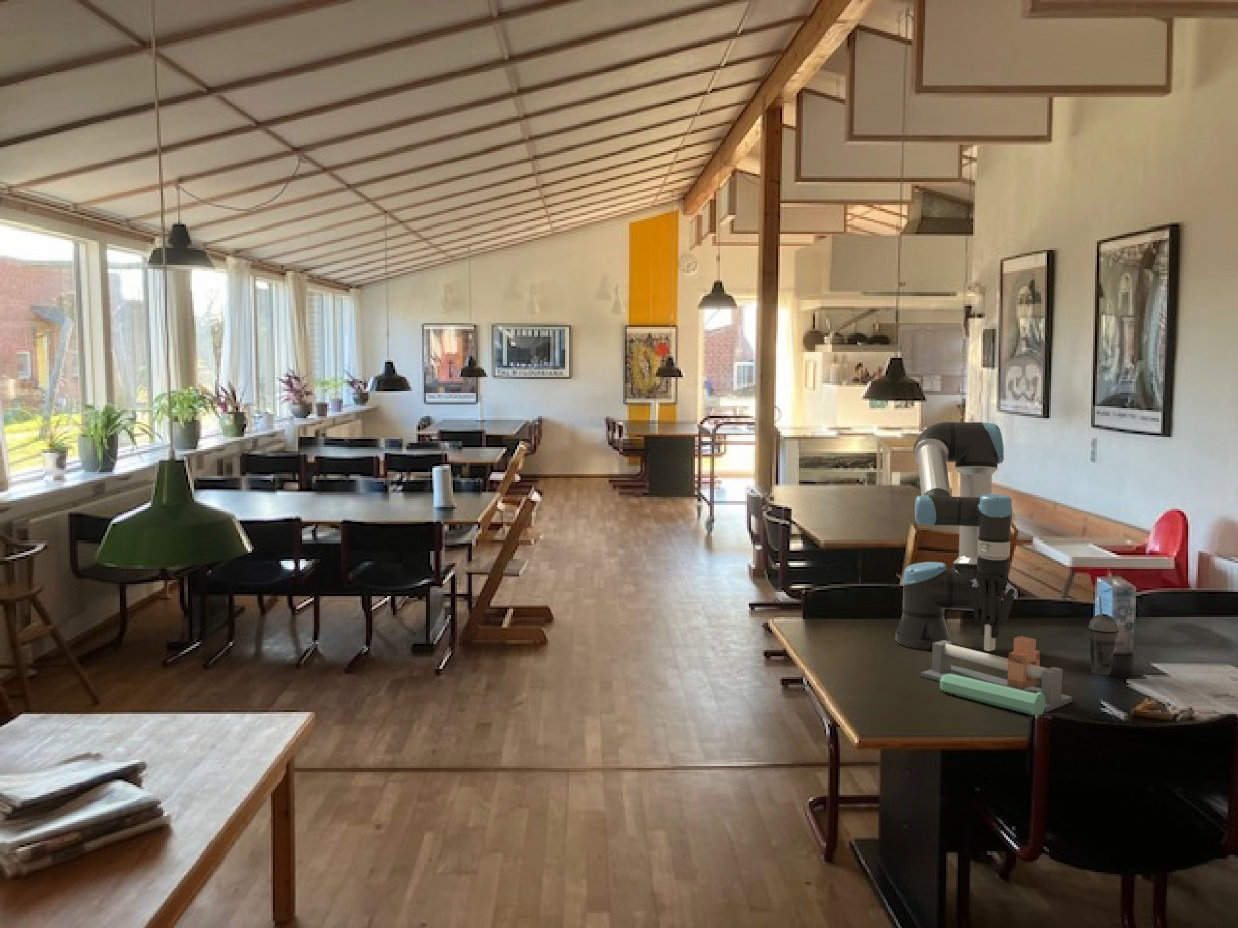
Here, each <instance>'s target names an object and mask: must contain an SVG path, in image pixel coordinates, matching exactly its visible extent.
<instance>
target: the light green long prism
mask: <svg viewBox="0 0 1238 928" xmlns="http://www.w3.org/2000/svg"><path fill="white" fill-rule="evenodd" d="M939 688H940V690H941V691H942V690H943V691H944V692H943V691H942V692H943V693H945V692H948V693H951V694H950V695H952V694H955V695H954V696H956V695H957V697H960V696H961V697H960V698H963V697H964V699H967V698H968V700H971V699H972V700H971V701H974V702H979V703H984V704H987V705H991V706H994V707H998V708H1002V709H1006V710H1011V711H1014V712H1019V713H1023V714H1027V715H1031V716H1032V717H1033V715H1035V714H1042V715H1043V714H1044V713H1045V712H1044V709H1045V697H1044V695H1043V693H1040V692H1038V693H1036V694H1035V693H1031V692H1027V691H1023V690H1018V689H1014V688H1010V687H1005V686H1001V685H997V684H993V683H988V682H984V681H980V680H975V679H971V678H967V677H963V676H958V675H954V674H946V675H943V676H942V677H941V679H940V682H939ZM948 693H947V694H948Z"/></svg>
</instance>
